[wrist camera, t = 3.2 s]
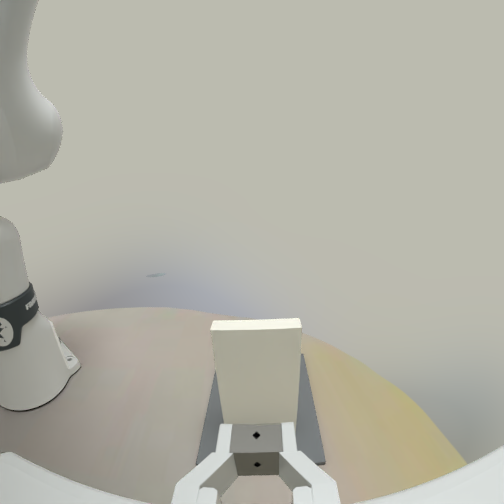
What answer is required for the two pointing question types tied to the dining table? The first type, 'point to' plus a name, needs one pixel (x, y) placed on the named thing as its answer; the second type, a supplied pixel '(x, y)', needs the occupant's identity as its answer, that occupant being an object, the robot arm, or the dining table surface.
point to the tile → (258, 369)
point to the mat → (305, 423)
